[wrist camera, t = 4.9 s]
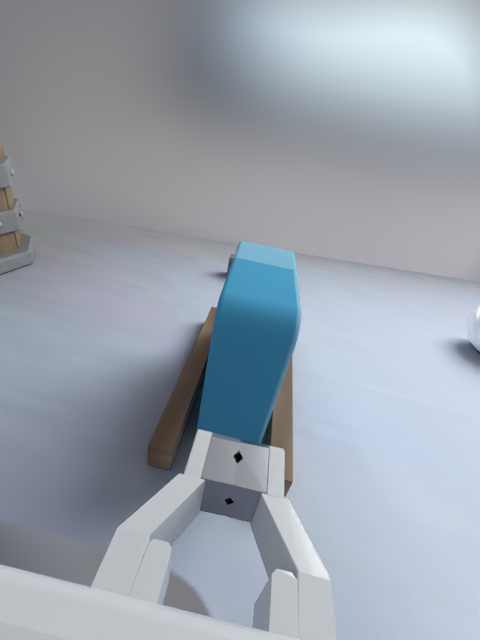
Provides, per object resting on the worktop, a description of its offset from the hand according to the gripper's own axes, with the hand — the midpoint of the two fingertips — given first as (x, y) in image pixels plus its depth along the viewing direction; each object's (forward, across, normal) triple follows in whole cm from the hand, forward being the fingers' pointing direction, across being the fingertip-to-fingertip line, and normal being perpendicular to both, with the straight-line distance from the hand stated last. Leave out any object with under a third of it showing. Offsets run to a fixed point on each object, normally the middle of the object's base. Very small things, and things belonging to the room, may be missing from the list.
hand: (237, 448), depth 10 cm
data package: (+13, 0, +10) cm, 16 cm away
